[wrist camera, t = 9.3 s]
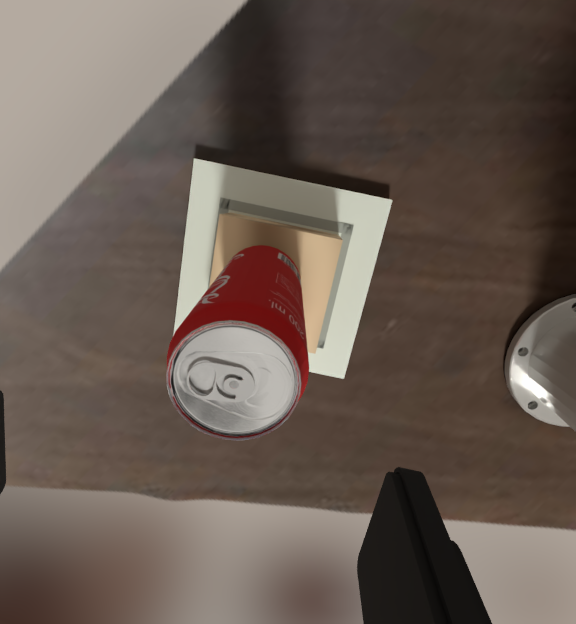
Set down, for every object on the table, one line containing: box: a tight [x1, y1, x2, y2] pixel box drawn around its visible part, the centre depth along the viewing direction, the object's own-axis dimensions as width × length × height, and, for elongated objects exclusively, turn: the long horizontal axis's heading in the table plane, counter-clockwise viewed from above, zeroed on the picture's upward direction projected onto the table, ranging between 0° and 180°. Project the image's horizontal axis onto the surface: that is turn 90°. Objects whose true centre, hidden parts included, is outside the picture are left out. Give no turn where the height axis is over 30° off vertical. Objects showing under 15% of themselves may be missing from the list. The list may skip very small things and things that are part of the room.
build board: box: [173, 158, 392, 379], centre depth 32 cm, size 16×16×1 cm
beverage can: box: [167, 245, 309, 440], centre depth 21 cm, size 6×6×15 cm
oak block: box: [209, 212, 343, 354], centre depth 30 cm, size 9×9×4 cm
